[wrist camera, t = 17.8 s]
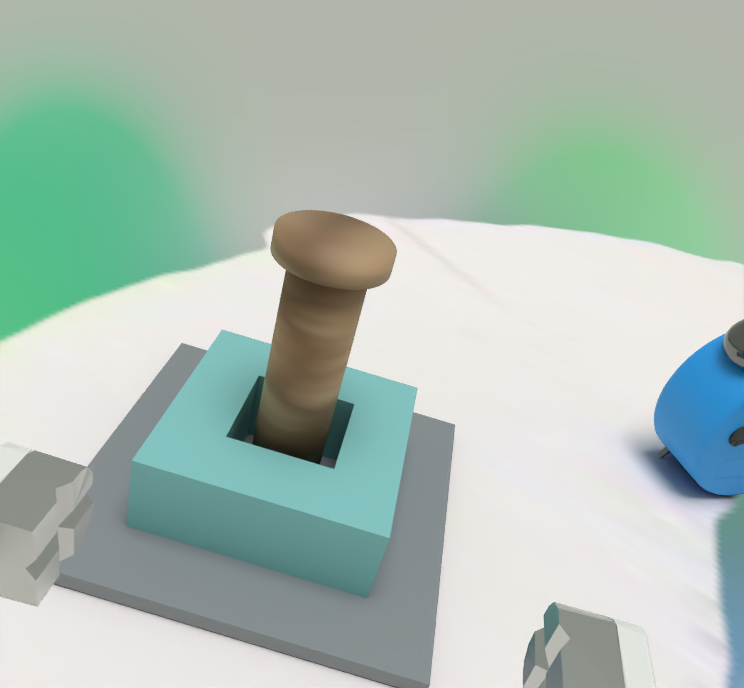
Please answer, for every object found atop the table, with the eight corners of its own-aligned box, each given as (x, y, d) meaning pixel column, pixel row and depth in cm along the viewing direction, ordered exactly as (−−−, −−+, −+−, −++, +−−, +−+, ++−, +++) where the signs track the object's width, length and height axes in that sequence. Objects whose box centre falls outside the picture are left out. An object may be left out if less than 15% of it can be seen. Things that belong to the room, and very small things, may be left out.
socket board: (451, 434, 55) (475, 373, 52) (424, 695, 37) (459, 625, 33) (180, 353, 56) (188, 287, 52) (16, 572, 37) (13, 490, 34)
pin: (338, 461, 48) (403, 232, 39) (317, 529, 43) (388, 281, 34) (247, 434, 48) (291, 199, 39) (215, 499, 43) (258, 243, 34)
